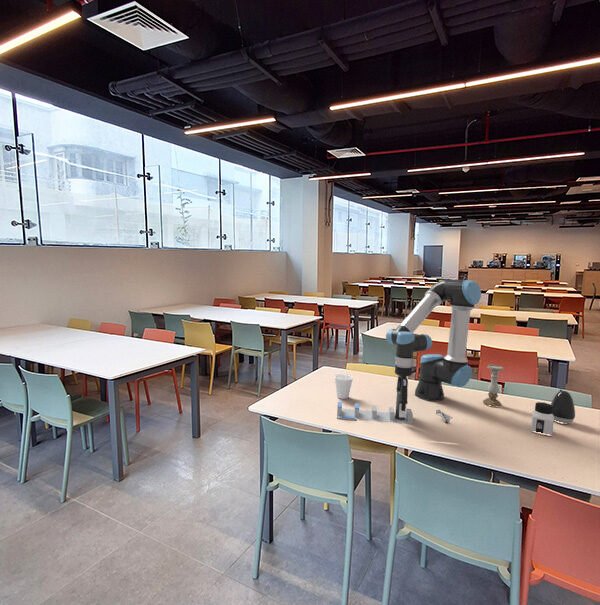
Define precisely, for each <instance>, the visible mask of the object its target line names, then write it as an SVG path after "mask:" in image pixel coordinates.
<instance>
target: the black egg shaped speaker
mask: <svg viewBox="0 0 600 605" xmlns="http://www.w3.org/2000/svg"><path fill="white" fill-rule="evenodd" d="M550 405H552V406H553V413H552V415H553V418H554V420H556V421H559V422H563V423H570V424H571V423H572V422H573V421H574V420H575V418H576V409H575V403H574V400H573V397H572V395H571V393H570V392H568V391H566V390H562V389H559V391H558V392H557V393H556V394H555V395H554V397H553V398H552V401H551V402H550Z"/></svg>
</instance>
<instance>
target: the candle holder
mask: <svg viewBox="0 0 600 605" xmlns="http://www.w3.org/2000/svg"><path fill="white" fill-rule="evenodd" d="M487 369H489V370H490V371H491V373H492V374H490V377H491V379H490V383H489V385H488V387H487V391H488V393H487V396H488V397H487V398H485V399H483V400H482V403H483V404H484V403H485V404H487V405H486V406H488V405H491V406H501V407H502V405H503V404H502V402H501V401H500V400H498V399H497V398H498V397H499V395H498V394H499V392H500V388H499V385H498V378H500V376H499V373H500V371H503V370H504V369H505V367H503V366H501V365H497V364H488V365H487ZM485 404H484V405H485ZM491 406H490V407H491Z"/></svg>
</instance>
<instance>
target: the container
mask: <svg viewBox="0 0 600 605" xmlns="http://www.w3.org/2000/svg"><path fill="white" fill-rule="evenodd" d="M552 413H553V406H552V405H551V403H548V402H545V401H544V402H543V401H537V402H536V403H535V406H534V410H533V411H532V416H531V425H530V432H531V431H536V432H541V433H545V434H550V435H552V436H553V432H554V423H555V421H554V418H553V415H552Z"/></svg>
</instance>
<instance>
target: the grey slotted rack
mask: <svg viewBox="0 0 600 605" xmlns="http://www.w3.org/2000/svg"><path fill="white" fill-rule="evenodd" d="M336 407H337V409H336V410H337V412H336V419H337V420H349V421H357V420H363V421H374V422H382V423H383V422H384V423H393V424H394V423H395V424H404V425H405V424H407V425H414V423H413V417H414V414H413V411H412V409H411V408H406V418H405V420H398V419H396V418H395V414H396V411H395V409H394V407H393V406H392V407H391V406H388V412H385V411H384V412H383V411H378V409H377V405H371V410H363V409H361V410H360V403H359V402H358V403H357V402H355V403H354V408H353V409H352V408H349V409H348V408H343V401H337V406H336Z"/></svg>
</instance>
